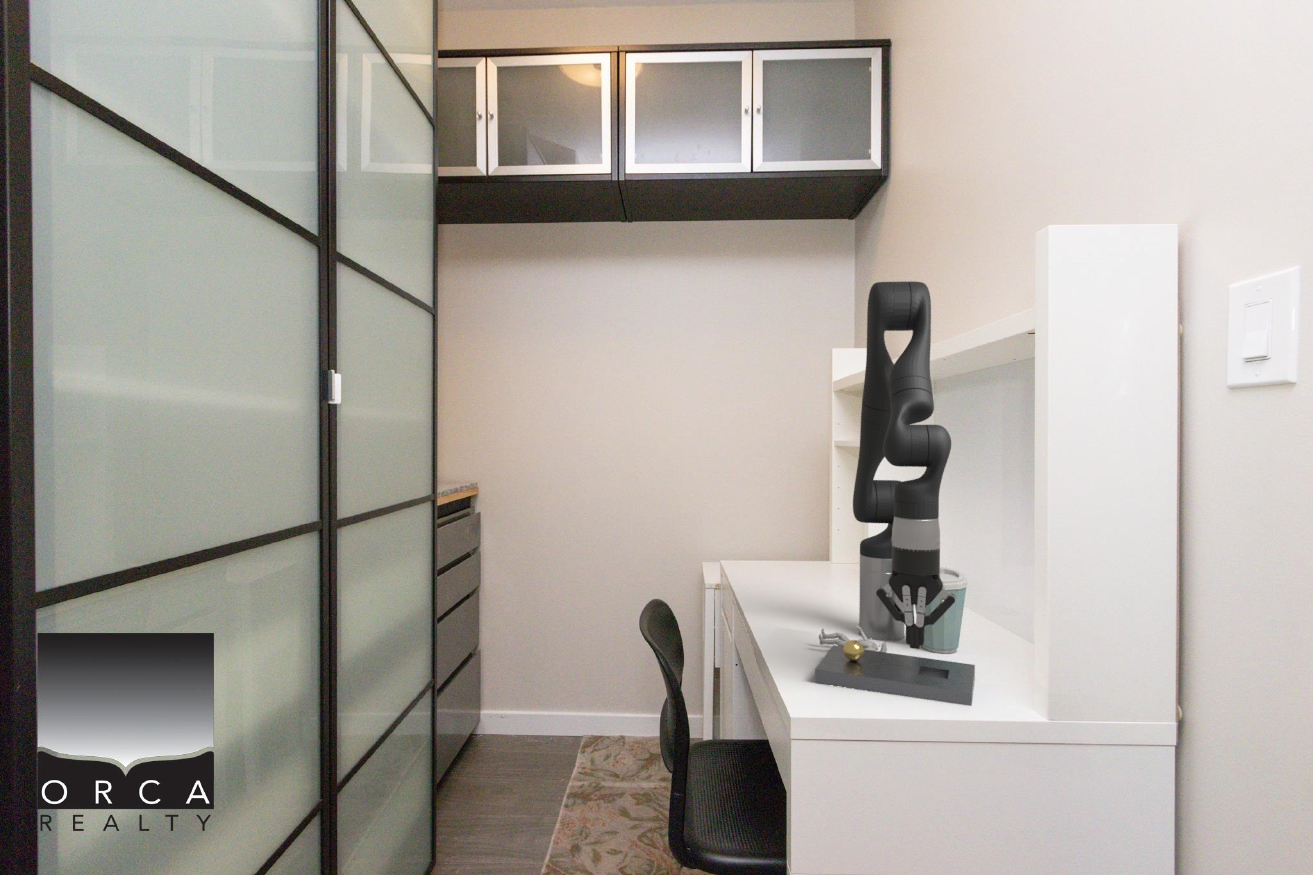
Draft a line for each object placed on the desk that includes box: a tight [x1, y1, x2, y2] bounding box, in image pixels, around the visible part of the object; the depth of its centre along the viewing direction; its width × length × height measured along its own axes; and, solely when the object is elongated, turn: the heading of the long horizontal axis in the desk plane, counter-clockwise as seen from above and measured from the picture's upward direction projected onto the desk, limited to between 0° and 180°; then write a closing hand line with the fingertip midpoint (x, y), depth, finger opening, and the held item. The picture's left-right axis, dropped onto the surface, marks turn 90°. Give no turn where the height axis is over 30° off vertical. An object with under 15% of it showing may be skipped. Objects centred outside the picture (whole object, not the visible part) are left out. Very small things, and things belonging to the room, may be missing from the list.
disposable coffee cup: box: [914, 566, 969, 654], centre depth 137 cm, size 11×11×15 cm
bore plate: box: [814, 644, 976, 707], centre depth 119 cm, size 14×24×2 cm, turn 64°
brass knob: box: [843, 639, 864, 661], centre depth 122 cm, size 4×4×4 cm
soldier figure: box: [818, 624, 888, 653], centre depth 135 cm, size 8×5×12 cm
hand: (914, 647), depth 118 cm, fingers closed
